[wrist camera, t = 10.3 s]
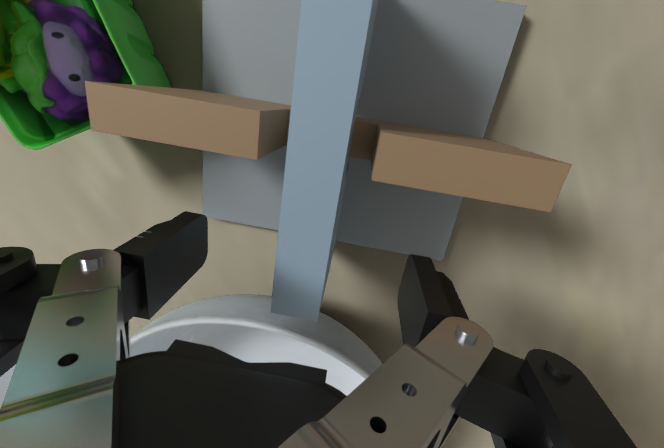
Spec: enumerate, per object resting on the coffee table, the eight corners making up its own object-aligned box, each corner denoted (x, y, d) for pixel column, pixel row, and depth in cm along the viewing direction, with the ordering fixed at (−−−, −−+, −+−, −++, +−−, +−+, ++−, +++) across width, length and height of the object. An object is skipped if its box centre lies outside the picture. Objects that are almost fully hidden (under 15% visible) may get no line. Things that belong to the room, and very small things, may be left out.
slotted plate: (340, -22, 15) (315, -140, 8) (381, -15, 15) (394, -129, 8) (305, 236, 20) (270, 312, 13) (335, 242, 20) (317, 321, 13)
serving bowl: (149, 233, 23) (64, 285, 16) (436, 289, 22) (464, 366, 15) (162, 425, 30) (109, 511, 24) (374, 471, 30) (375, 572, 23)
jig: (209, -38, 16) (50, -180, 8) (519, 10, 16) (686, -93, 7) (208, 212, 21) (110, 279, 13) (439, 255, 21) (486, 354, 13)
